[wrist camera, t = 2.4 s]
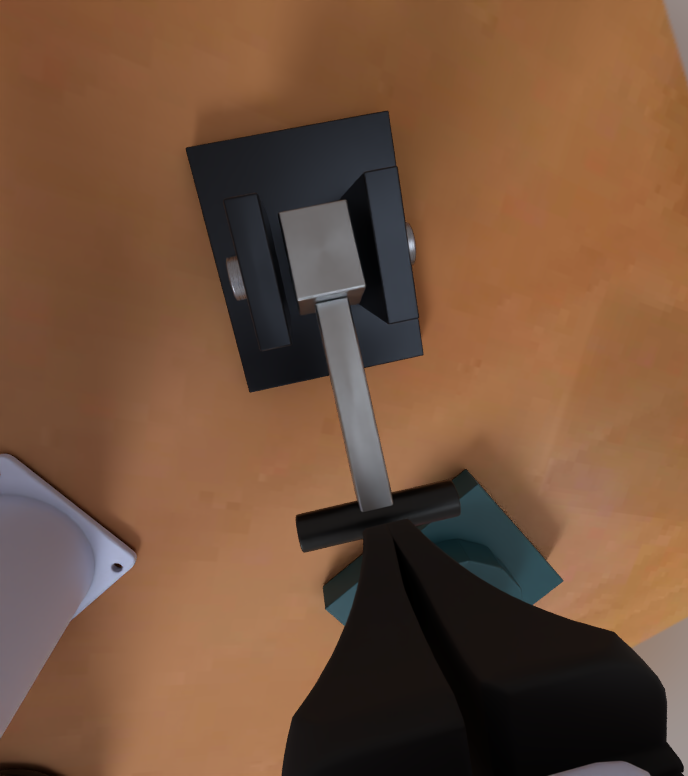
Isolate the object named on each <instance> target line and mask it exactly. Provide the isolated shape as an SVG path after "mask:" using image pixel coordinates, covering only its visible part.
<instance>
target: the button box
mask: <svg viewBox="0 0 688 776" xmlns="http://www.w3.org/2000/svg"><path fill="white" fill-rule="evenodd" d="M452 482H453V484H454V485H455V487H456V490H457V493H458V496H459V499H460V504H461V514H460V515H459V516H457V517H452V518H448V519H444V520H440V521H436V522H431V523H427V524H423V525H419V526H416V527H417V528H418V529H419V530H420V531H421V532H422V533H423V534H424V535H425V536H426V537H427V538H429V539H430V540H431V541H432V542H433V543H434V544H435V545H436V546H438V547H439V548H440V549H441V550H443V551H444V552H445V553H446V554H447V555H449V556H450V557H451V558H452V559H454V560H455V561H456V562H458V563H459V564H460V565H462V566H463V567H465V568H466V569H467V570H469V571H470V572H472V573H473V574H475V575H476V576H478V577H479V578H481V579H482V580H484V581H486V582H487V583H489V584H491V585H492V586H494V587H496V588H498V589H499V590H501V591H503V592H505V593H507V594H509V595H511V596H513V597H516V598H518V599H520V600H522V601H524V602H526V603H528V604H531V605H533V604H534V603H536V602H537V601H538V600H540V599H541V598H542V597H544V596H545V595H546V594H547V593H549V592H550V591H551V590H553V589H554V588H555V587H556V586H558V585H559V584H560V583H562V582H563V579H562V578H561V577H560V576H559V575H558V574H557V572H556V571H555V570H554V569H553V568H552V567H551V565H550V564H549V563H548V562H547V561H546V560H545V558H544V557H543V556H542V555H541V554H540V553H539V552H538V550H537V549H536V548H535V547H534V546H533V545H532V544H531V542H530V541H529V540H528V539H527V538H526V537H525V536H524V534H523V533H522V532H521V531H520V530H519V529H518V528H517V526H516V525H515V524H514V523H513V522H512V521H511V520H510V518H509V517H508V516H507V515H506V514H505V513H504V512H503V510H502V509H501V508H500V507H499V506H498V505H497V504H496V502H495V501H494V500H493V499H492V498H491V497H490V496H489V495H488V493H487V492H486V491H485V490H484V489H483V488H482V487H481V485H480V484H479V483H478V482H477V481H476V480H475V479H474V477H473V476H472V475H471V474H470V473H469V472H468V471H467V470H466V469H465V470H464V471H463V472H462V473H461V474H459V475H458V476H457V477H456V478H454V479H453V480H452ZM362 558H363V554H362V555H361V556H360V557H358V558H357V559H356V560H355V561H354V562H352V563H351V564H350V565H349V566H347V567H346V568H345V569H344V570H343V571H341V572H340V573H339V574H338V575H337V576H335V577H334V578H333V579H332V580H330V581H329V582H328V583H327V584H326V585H324V586H323V592H324V602H325V609H326V610H327V611H328V612H329V613H330V614H332V615H333V616H334V617H335V618H336V619H337V620H339V621H340V622H341V623H342V624H343V625H344V626H345V624H346V622H347V619H348V616H349V613H350V610H351V607H352V604H353V601H354V597H355V593H356V589H357V585H358V581H359V577H360V571H361V564H362Z"/></svg>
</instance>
